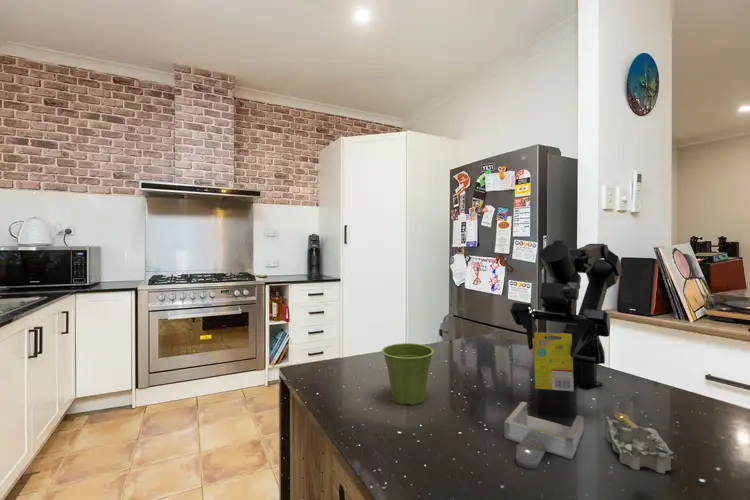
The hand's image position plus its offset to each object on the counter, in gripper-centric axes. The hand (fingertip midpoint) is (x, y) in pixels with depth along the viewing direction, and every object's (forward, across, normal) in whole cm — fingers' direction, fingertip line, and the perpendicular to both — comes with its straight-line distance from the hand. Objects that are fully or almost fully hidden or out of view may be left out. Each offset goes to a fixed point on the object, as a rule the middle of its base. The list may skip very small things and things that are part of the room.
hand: (549, 352), depth 75 cm
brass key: (+6, +13, +14) cm, 20 cm away
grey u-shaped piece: (+18, +1, +1) cm, 18 cm away
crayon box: (+5, 0, +7) cm, 8 cm away
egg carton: (+13, +15, +6) cm, 21 cm away
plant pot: (+18, -27, +1) cm, 33 cm away
